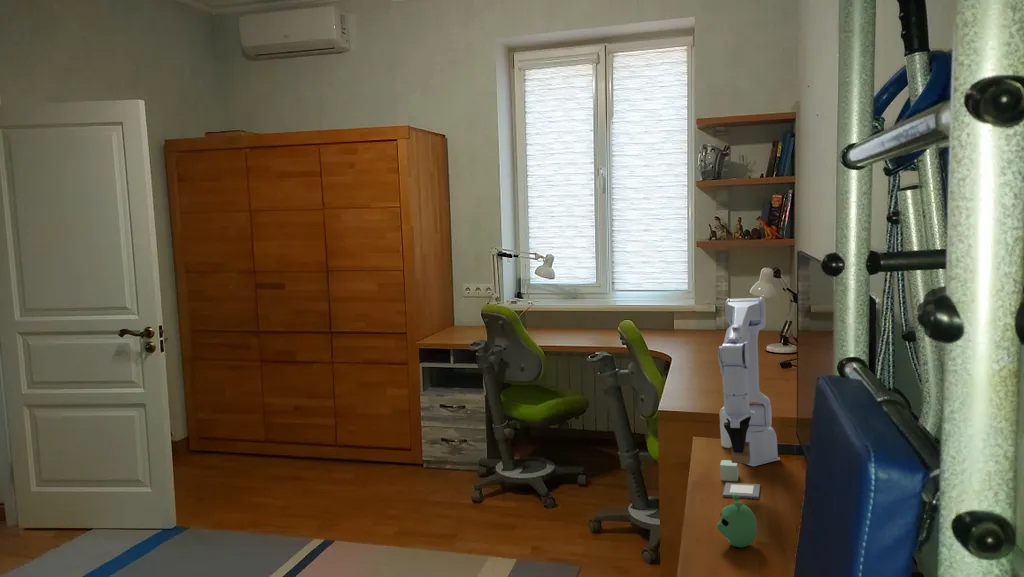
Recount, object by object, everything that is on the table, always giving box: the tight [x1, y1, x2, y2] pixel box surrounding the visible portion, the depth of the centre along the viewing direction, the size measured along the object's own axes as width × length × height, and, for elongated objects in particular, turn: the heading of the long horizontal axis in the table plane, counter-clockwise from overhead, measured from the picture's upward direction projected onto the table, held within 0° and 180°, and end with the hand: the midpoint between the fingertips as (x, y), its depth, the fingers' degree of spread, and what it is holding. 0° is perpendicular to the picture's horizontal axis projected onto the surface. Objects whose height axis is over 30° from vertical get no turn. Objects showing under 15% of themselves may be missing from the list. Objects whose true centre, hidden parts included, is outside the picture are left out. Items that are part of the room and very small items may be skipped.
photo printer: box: [718, 406, 731, 449], centre depth 203 cm, size 10×4×12 cm, turn 123°
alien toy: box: [716, 495, 758, 548], centre depth 139 cm, size 7×8×10 cm
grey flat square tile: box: [722, 482, 761, 500], centre depth 167 cm, size 8×8×1 cm
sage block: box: [719, 459, 740, 482], centre depth 177 cm, size 4×4×4 cm
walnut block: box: [730, 442, 750, 465], centre depth 166 cm, size 4×4×4 cm
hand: (739, 449), depth 166 cm, fingers closed on walnut block, 4 cm apart
